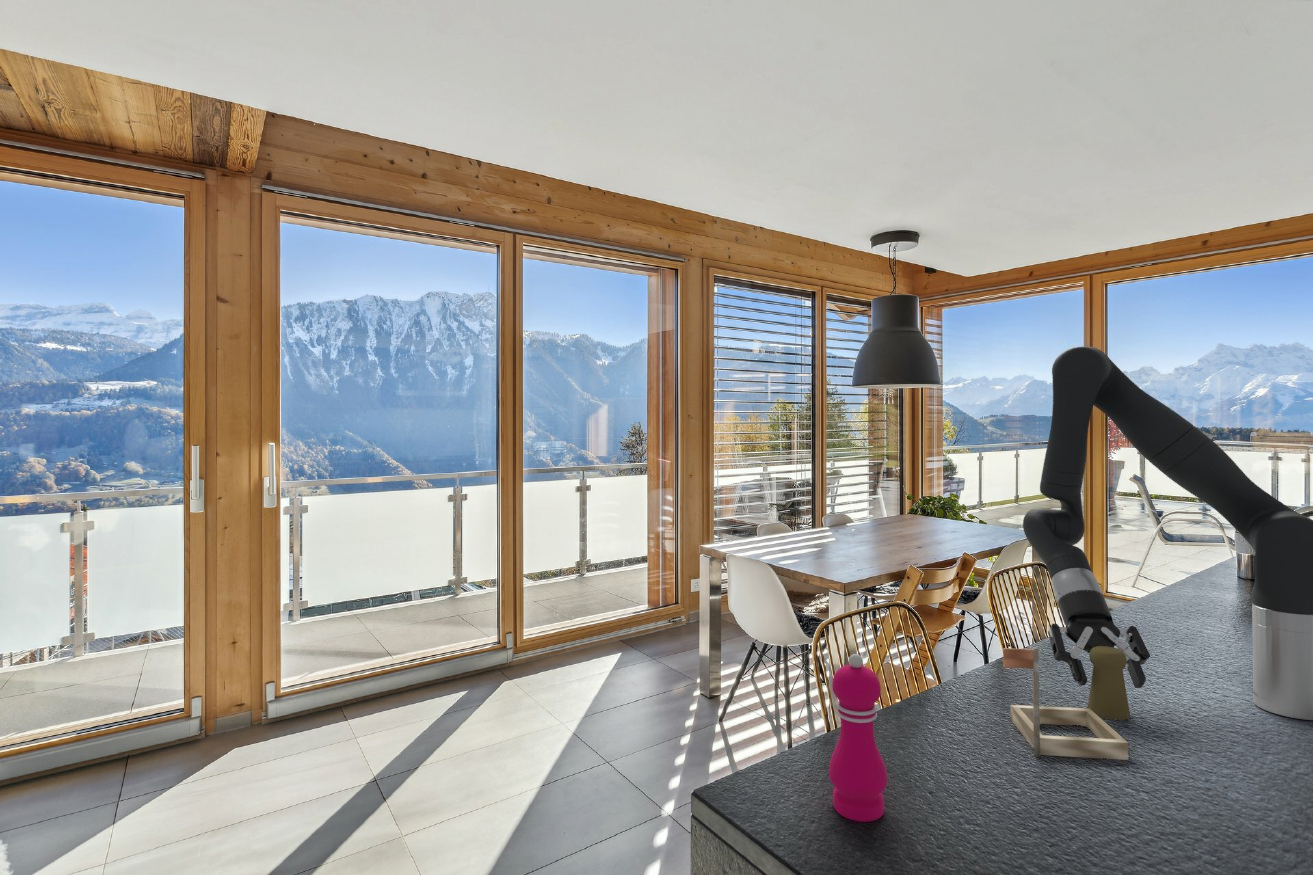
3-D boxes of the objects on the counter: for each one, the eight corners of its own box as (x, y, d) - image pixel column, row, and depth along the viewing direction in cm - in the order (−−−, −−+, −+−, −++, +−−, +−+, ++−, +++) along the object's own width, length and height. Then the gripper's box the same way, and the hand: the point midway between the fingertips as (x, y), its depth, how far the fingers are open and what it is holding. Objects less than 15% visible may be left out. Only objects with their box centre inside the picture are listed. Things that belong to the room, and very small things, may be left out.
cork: (1137, 721, 109) (1136, 654, 109) (1096, 719, 110) (1095, 652, 110) (1119, 706, 115) (1119, 642, 115) (1081, 704, 116) (1080, 641, 116)
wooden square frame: (1089, 723, 109) (1088, 626, 109) (1131, 762, 96) (1129, 652, 96) (979, 718, 112) (978, 622, 111) (1005, 755, 99) (1004, 647, 99)
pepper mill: (821, 794, 89) (819, 646, 89) (874, 791, 90) (871, 643, 90) (841, 826, 82) (838, 665, 82) (897, 822, 83) (895, 662, 83)
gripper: (1043, 587, 121) (1072, 672, 110) (1130, 588, 119) (1168, 676, 108) (1032, 608, 126) (1058, 692, 115) (1115, 610, 124) (1150, 696, 113)
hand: (1111, 684), depth 111 cm, fingers open, 8 cm apart
